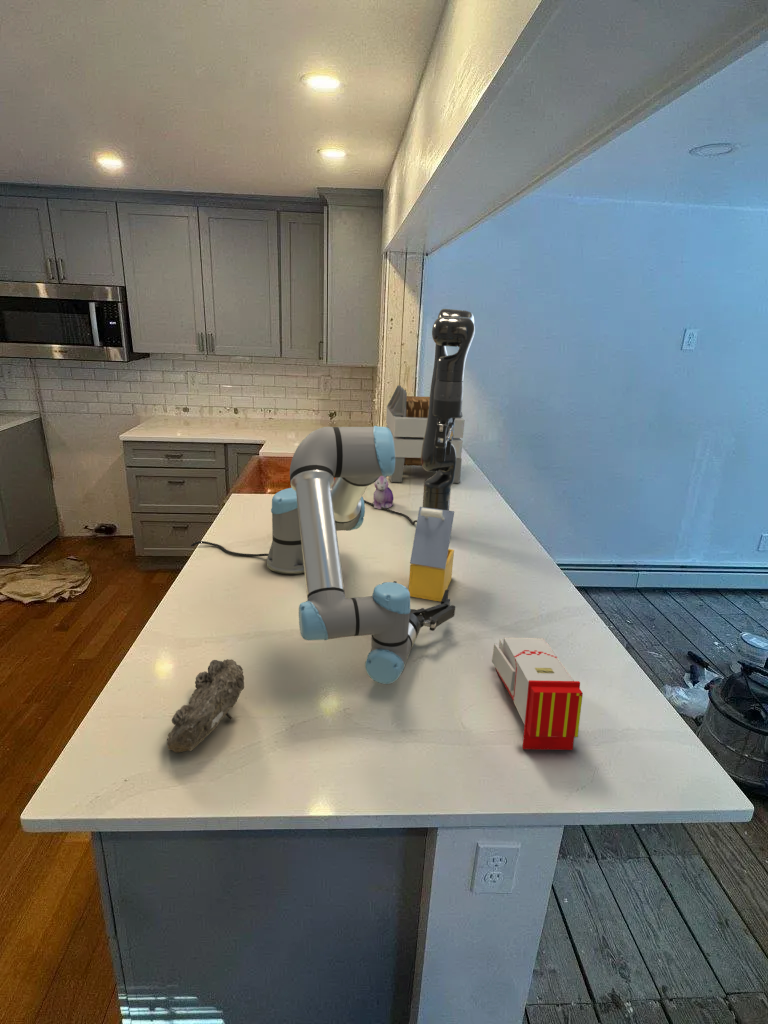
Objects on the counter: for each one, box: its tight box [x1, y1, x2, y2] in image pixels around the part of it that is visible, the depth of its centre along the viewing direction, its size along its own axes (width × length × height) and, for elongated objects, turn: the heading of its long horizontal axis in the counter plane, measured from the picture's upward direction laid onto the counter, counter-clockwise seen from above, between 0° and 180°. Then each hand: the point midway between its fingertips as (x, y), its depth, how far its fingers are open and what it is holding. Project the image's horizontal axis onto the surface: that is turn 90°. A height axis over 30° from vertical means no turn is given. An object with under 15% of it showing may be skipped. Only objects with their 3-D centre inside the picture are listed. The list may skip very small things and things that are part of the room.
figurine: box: [372, 476, 394, 510], centre depth 225 cm, size 9×10×15 cm
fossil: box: [166, 658, 245, 754], centre depth 106 cm, size 22×10×15 cm
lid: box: [409, 506, 455, 569], centre depth 150 cm, size 16×10×9 cm
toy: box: [491, 637, 584, 751], centre depth 115 cm, size 12×13×30 cm
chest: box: [408, 548, 455, 603], centre depth 161 cm, size 15×10×10 cm, turn 164°
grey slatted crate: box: [385, 384, 465, 484], centre depth 268 cm, size 34×33×41 cm
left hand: (420, 590), depth 146 cm, fingers open, 13 cm apart
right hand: (443, 458), depth 154 cm, fingers open, 8 cm apart
